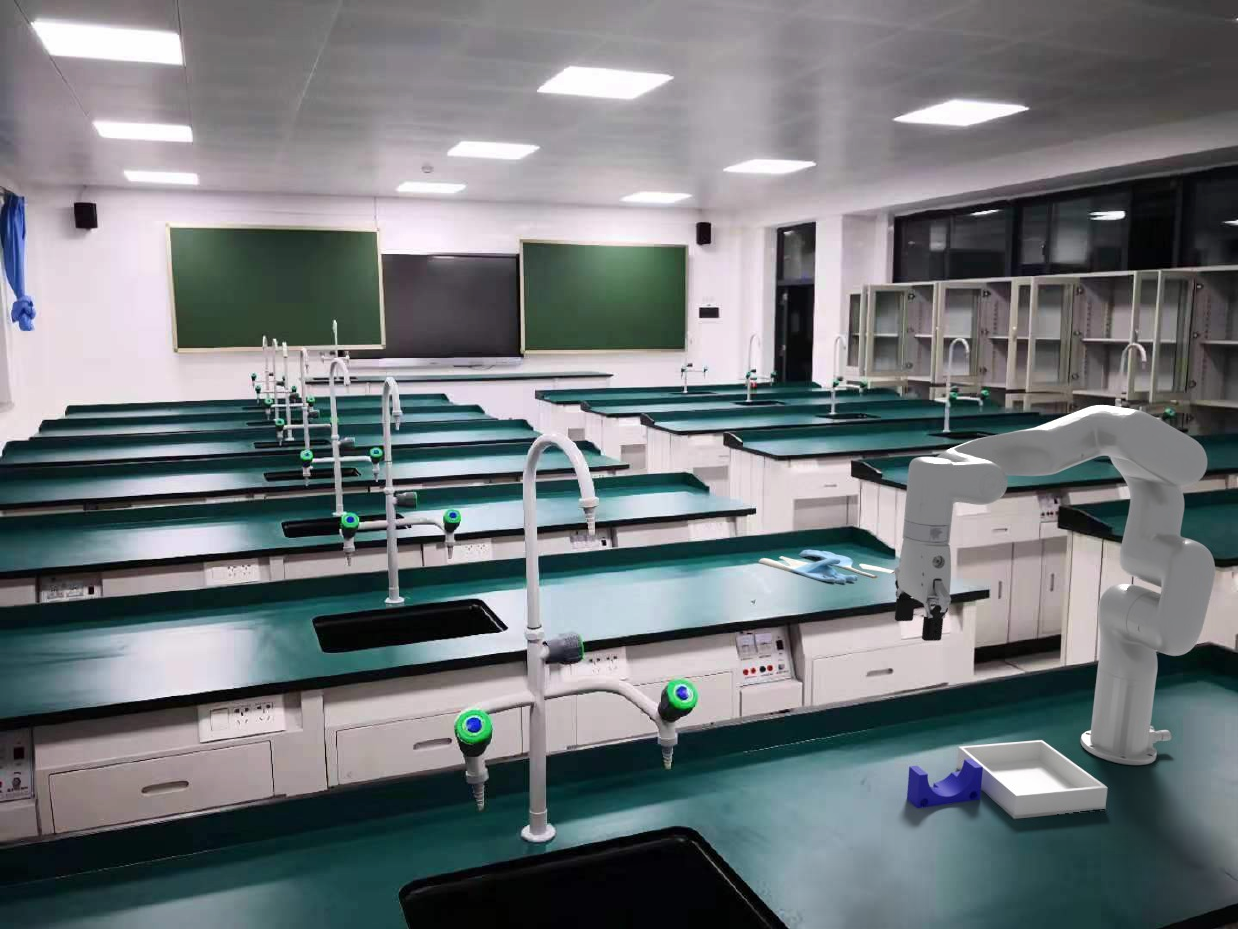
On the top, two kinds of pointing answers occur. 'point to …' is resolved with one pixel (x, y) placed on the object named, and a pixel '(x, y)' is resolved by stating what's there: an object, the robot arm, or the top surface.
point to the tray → (1034, 779)
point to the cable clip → (945, 786)
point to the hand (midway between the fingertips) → (917, 630)
